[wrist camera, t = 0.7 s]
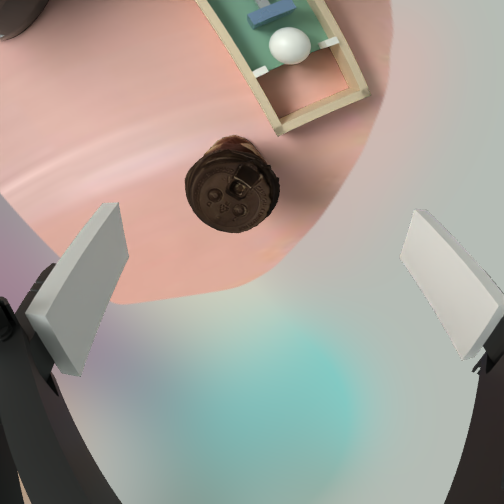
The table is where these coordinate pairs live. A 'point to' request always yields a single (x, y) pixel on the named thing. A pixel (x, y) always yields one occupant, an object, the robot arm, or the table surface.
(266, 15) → the kicker
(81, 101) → the table surface
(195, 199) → the coffee cup
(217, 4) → the pitch
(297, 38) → the ball
